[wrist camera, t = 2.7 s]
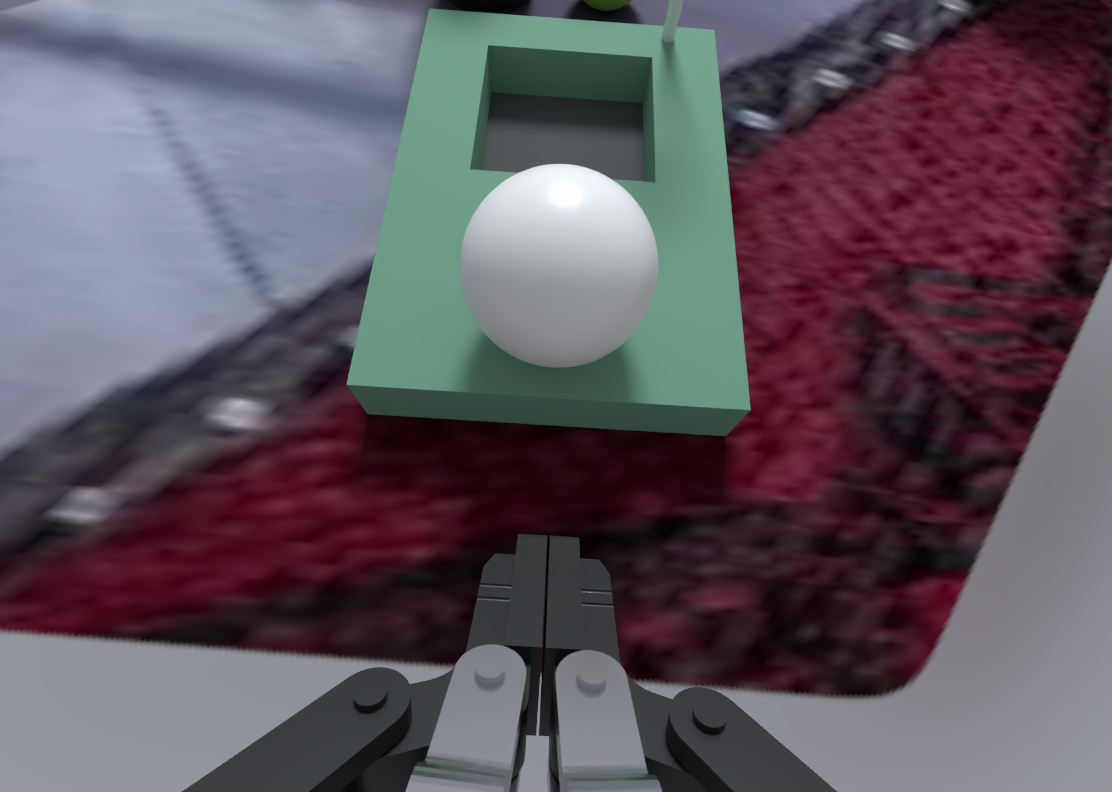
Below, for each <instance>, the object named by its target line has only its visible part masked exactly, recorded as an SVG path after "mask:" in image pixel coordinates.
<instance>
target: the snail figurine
mask: <svg viewBox="0 0 1112 792" xmlns="http://www.w3.org/2000/svg"><path fill="white" fill-rule="evenodd" d="M583 1H584V2H585V3H586V4H588V5H589V6H591V7H593V8H595V9H598V10H602V11H612V10H616V9H619V8H621V7H623V6H625V5H626V4H628V3H629V2H630V1H631V0H583Z"/></svg>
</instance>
